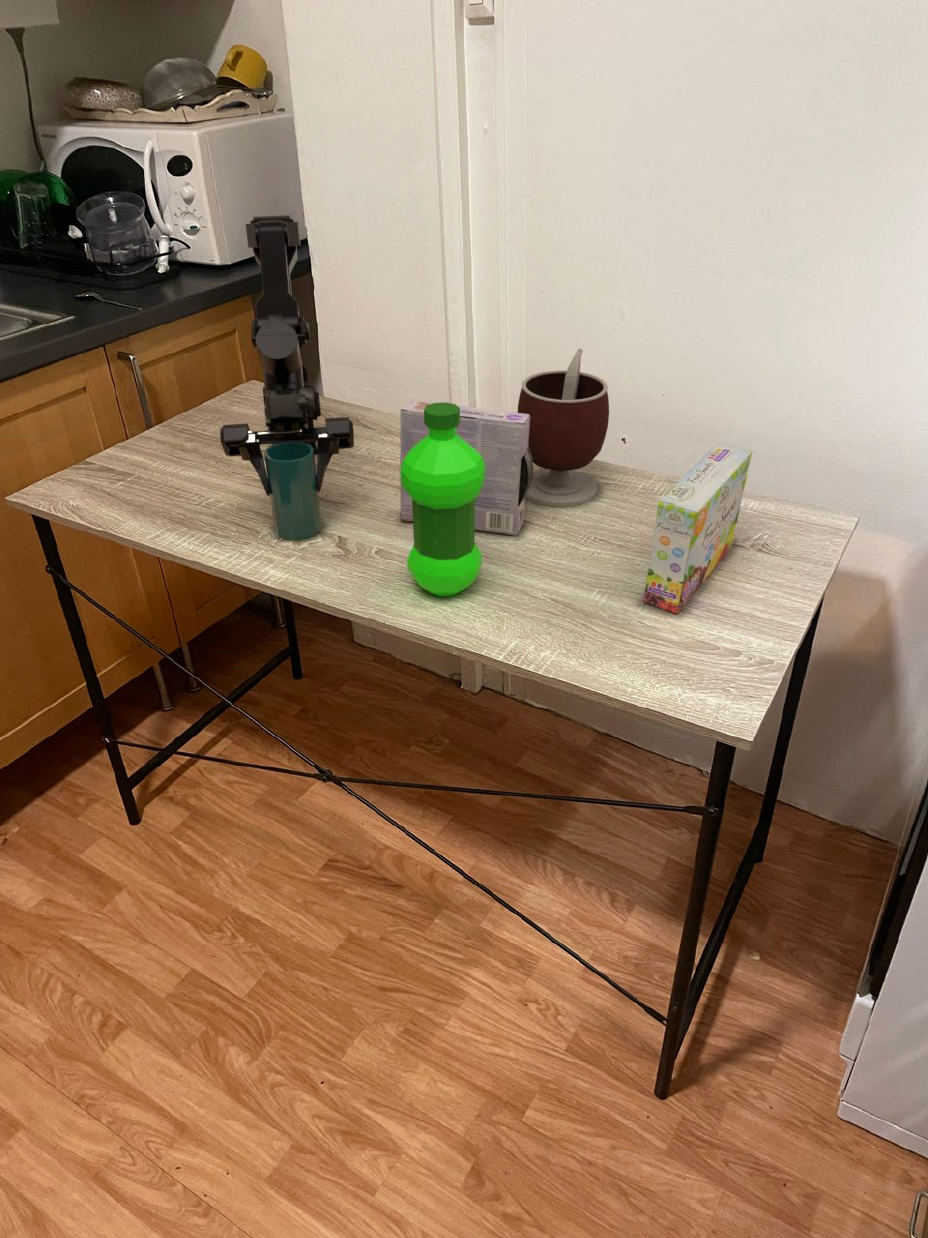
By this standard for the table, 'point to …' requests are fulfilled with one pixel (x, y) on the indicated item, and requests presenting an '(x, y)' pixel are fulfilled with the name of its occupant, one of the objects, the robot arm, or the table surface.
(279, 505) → the teal and beige cup
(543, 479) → the mate gourd
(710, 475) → the snack box
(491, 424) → the cake pan box
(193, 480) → the table surface
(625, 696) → the table surface
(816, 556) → the table surface
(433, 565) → the plastic bottle
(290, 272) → the robot arm
